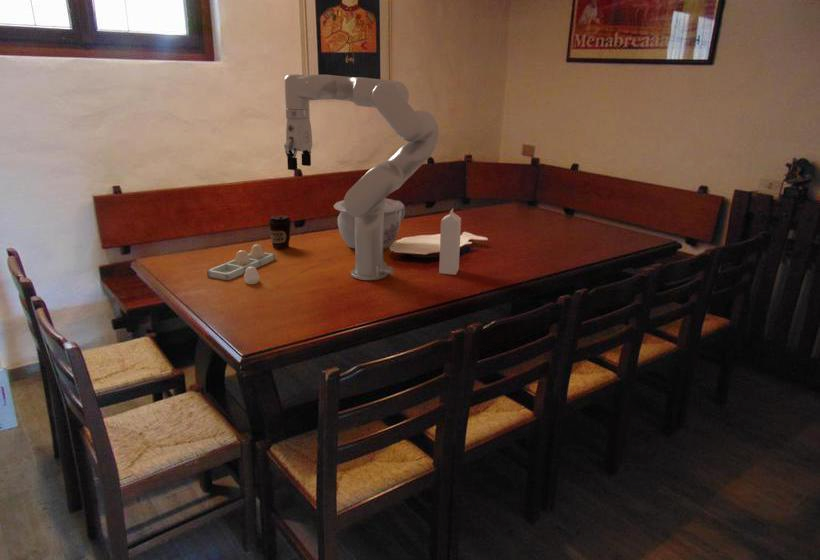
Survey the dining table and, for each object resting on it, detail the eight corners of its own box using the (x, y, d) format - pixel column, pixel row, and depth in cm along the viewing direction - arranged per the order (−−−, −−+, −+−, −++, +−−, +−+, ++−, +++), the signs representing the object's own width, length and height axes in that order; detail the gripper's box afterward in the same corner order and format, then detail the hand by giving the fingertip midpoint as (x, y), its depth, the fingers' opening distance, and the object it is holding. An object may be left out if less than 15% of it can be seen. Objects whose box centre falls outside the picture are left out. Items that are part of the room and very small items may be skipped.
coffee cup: (287, 253, 222) (285, 220, 218) (266, 252, 224) (264, 218, 219) (295, 247, 230) (294, 215, 226) (276, 245, 232) (274, 213, 227)
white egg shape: (262, 283, 191) (261, 265, 189) (253, 288, 187) (251, 269, 185) (251, 281, 193) (249, 263, 191) (241, 285, 189) (239, 267, 187)
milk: (438, 273, 204) (440, 211, 196) (442, 268, 209) (444, 207, 202) (456, 275, 203) (458, 212, 195) (459, 269, 208) (461, 208, 201)
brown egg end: (267, 260, 211) (266, 243, 209) (258, 264, 207) (257, 247, 205) (256, 258, 213) (255, 241, 211) (247, 262, 209) (246, 245, 207)
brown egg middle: (252, 266, 204) (251, 249, 202) (243, 270, 200) (242, 253, 198) (242, 264, 206) (240, 247, 204) (232, 268, 202) (231, 251, 200)
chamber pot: (331, 256, 220) (329, 202, 213) (337, 236, 246) (336, 187, 238) (406, 257, 221) (407, 203, 214) (404, 237, 247) (405, 188, 240)
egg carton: (237, 255, 219) (237, 247, 218) (275, 262, 212) (274, 254, 211) (188, 275, 198) (187, 266, 197) (228, 283, 191) (227, 274, 190)
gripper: (295, 117, 182) (297, 172, 188) (320, 113, 198) (321, 164, 203) (273, 115, 184) (276, 170, 190) (300, 112, 200) (301, 163, 205)
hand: (299, 167), depth 197 cm, fingers open, 9 cm apart
